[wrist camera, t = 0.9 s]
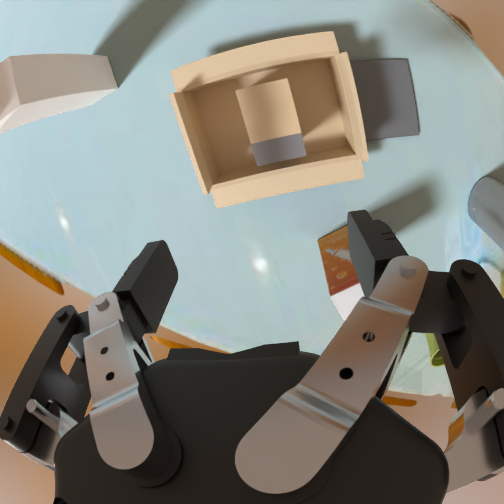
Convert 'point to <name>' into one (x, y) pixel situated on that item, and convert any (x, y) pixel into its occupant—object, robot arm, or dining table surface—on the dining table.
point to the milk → (51, 85)
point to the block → (271, 122)
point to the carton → (307, 108)
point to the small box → (340, 271)
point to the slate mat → (385, 98)
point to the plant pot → (434, 351)
